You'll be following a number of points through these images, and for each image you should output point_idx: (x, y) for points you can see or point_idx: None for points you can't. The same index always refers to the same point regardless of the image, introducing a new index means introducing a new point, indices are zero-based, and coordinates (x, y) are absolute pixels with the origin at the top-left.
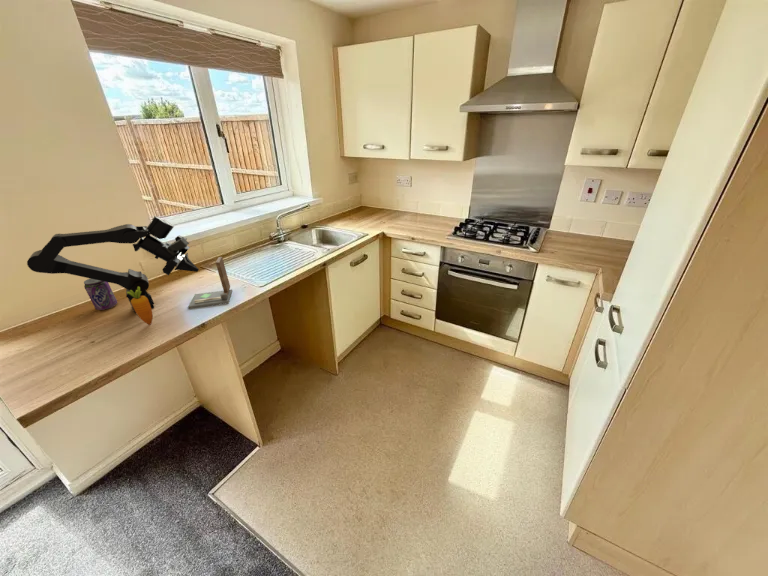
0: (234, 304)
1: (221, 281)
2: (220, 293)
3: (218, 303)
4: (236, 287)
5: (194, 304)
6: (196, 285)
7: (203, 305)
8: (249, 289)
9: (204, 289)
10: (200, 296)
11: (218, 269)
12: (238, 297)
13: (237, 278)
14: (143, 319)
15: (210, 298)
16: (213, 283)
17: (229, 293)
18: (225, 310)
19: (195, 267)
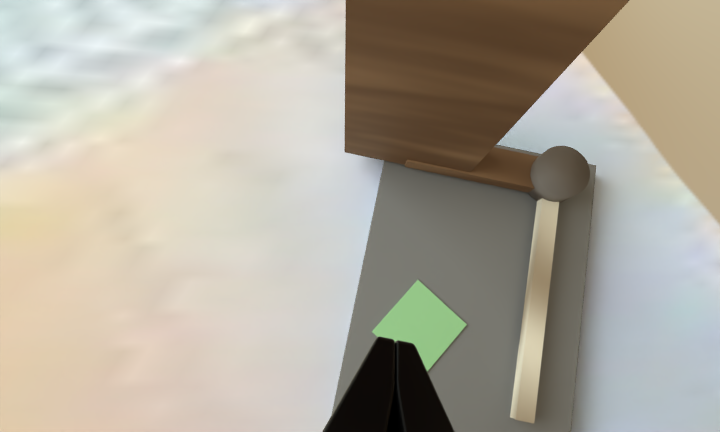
0: (618, 134)
1: (507, 126)
2: (427, 210)
3: (583, 235)
4: (328, 97)
5: (548, 421)
6: (79, 419)
7: (572, 348)
8: None
9: (221, 344)
10: None
11: (591, 29)
12: None
13: (146, 74)
14: None
15: (542, 284)
16: (131, 266)
17: None
18: (687, 197)
19: (412, 392)
